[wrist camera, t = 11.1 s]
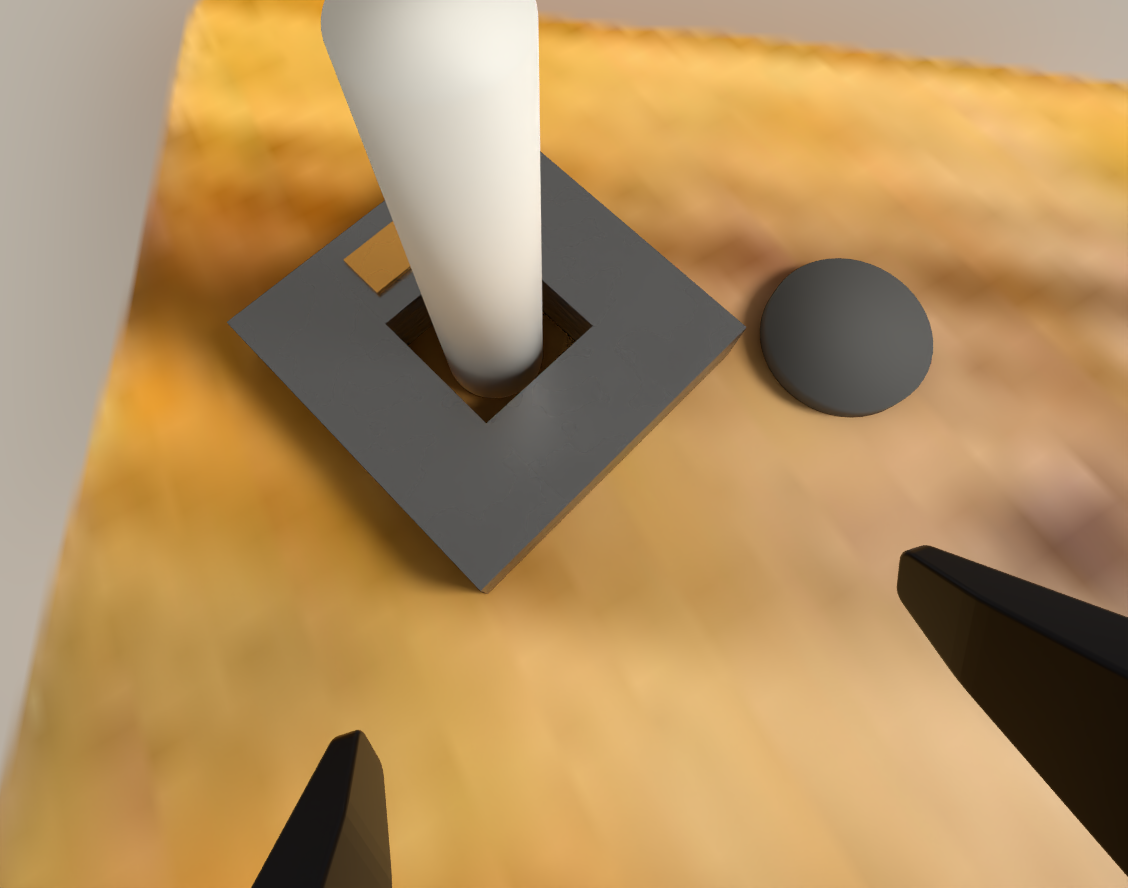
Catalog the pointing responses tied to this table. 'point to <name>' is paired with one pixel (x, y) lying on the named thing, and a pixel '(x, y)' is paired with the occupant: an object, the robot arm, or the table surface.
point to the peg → (456, 165)
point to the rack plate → (529, 421)
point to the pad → (846, 337)
